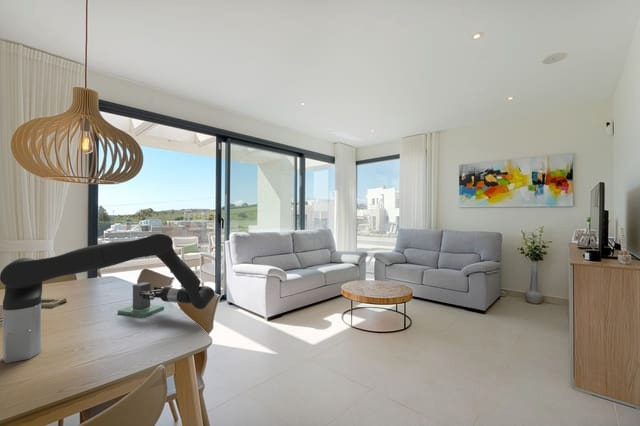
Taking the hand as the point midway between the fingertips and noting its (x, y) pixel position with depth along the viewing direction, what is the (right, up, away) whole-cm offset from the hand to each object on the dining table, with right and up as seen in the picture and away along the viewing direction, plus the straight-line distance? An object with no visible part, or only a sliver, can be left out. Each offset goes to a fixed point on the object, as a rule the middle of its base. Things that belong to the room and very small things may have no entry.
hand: (147, 291), depth 144 cm
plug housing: (-3, -9, +1) cm, 9 cm away
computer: (-58, -10, +8) cm, 59 cm away
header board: (-3, -10, +1) cm, 11 cm away
